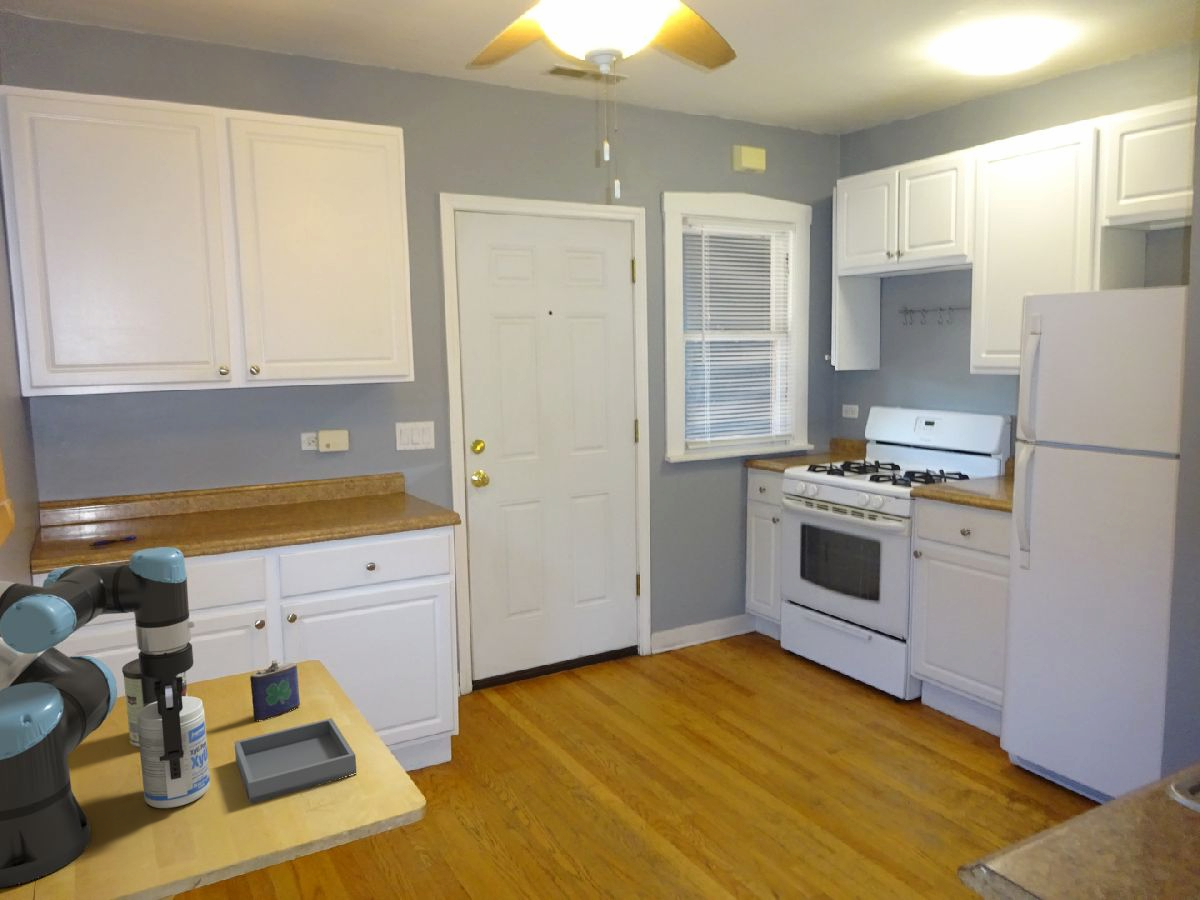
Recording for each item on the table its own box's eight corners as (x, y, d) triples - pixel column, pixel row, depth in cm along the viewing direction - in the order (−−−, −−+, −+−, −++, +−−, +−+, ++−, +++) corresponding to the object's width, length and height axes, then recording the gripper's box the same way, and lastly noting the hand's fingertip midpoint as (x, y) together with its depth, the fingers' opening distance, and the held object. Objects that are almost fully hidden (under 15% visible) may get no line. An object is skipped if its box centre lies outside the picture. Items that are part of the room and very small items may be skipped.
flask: (296, 703, 168) (293, 652, 167) (303, 707, 166) (299, 656, 165) (251, 718, 162) (247, 666, 160) (258, 723, 160) (253, 670, 158)
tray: (356, 774, 139) (355, 754, 139) (250, 804, 131) (248, 783, 131) (333, 736, 154) (331, 718, 153) (235, 760, 145) (234, 741, 145)
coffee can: (201, 722, 161) (195, 651, 159) (173, 747, 151) (166, 673, 149) (148, 722, 161) (142, 652, 159) (117, 748, 151) (109, 673, 149)
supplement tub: (210, 802, 132) (203, 713, 130) (142, 817, 128) (133, 725, 126) (210, 774, 140) (203, 690, 138) (146, 787, 136) (139, 701, 135)
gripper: (194, 664, 123) (206, 807, 126) (189, 622, 142) (199, 746, 145) (136, 675, 119) (149, 821, 122) (139, 630, 139) (151, 756, 142)
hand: (176, 780), depth 134 cm, fingers closed on supplement tub, 10 cm apart
